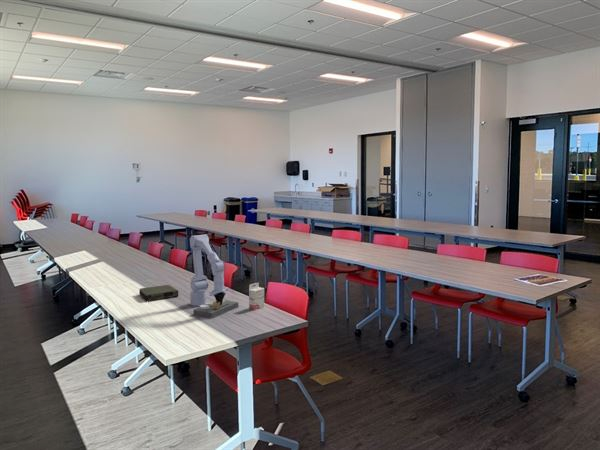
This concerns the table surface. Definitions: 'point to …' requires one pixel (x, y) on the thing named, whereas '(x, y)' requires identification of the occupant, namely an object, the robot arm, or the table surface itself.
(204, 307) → the grey button
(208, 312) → the control panel
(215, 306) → the brass slider
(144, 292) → the network switch
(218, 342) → the table surface
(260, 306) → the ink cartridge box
